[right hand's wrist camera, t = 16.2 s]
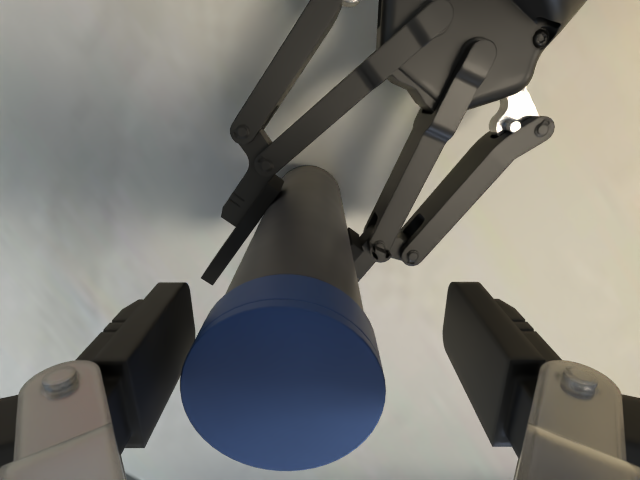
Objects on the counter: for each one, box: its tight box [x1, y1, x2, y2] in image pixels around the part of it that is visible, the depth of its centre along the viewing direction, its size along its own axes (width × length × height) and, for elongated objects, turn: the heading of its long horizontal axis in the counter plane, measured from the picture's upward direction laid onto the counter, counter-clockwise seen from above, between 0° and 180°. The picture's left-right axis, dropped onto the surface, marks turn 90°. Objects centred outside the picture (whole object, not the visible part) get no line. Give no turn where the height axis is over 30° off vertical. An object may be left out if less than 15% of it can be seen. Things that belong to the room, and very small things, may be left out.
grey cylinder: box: [225, 166, 363, 310], centre depth 19 cm, size 5×5×19 cm
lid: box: [180, 274, 386, 471], centre depth 10 cm, size 5×5×2 cm
